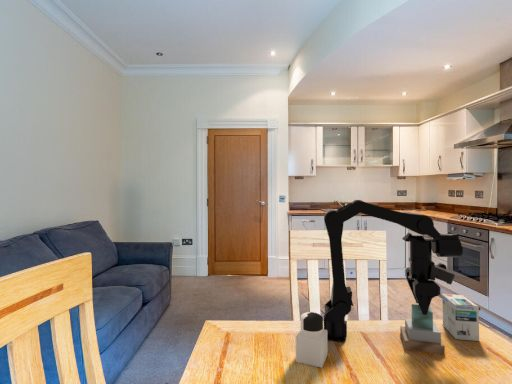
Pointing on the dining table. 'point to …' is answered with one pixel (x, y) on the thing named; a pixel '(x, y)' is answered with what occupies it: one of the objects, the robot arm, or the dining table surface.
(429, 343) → the walnut slab
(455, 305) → the light bulb box
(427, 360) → the dining table surface
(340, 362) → the dining table surface
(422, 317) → the teal block
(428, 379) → the dining table surface
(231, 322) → the dining table surface
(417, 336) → the grey slab
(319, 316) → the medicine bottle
